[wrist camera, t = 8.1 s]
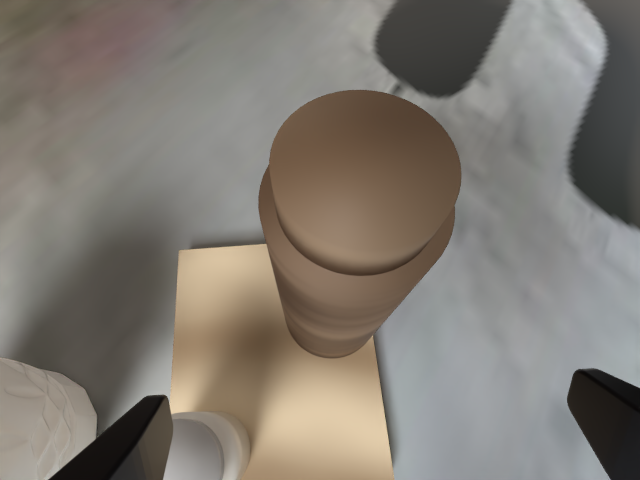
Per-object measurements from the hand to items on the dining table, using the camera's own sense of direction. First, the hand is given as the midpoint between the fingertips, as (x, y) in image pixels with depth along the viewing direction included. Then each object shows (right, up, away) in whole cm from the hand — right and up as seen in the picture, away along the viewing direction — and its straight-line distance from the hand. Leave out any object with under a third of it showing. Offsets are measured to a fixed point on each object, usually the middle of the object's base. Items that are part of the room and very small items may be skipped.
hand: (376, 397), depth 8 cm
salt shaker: (-6, -6, +9) cm, 12 cm away
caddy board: (-3, -3, +12) cm, 12 cm away
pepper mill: (-1, 0, +11) cm, 11 cm away
